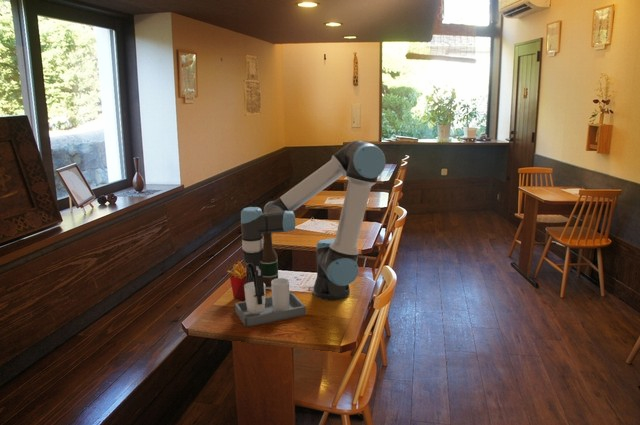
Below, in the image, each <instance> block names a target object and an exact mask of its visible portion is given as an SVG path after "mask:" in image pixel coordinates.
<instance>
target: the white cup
mask: <svg viewBox="0 0 640 425" xmlns="http://www.w3.org/2000/svg"><path fill="white" fill-rule="evenodd" d="M263 284H264V294H265V295H264V296H263V311H264V310H265V297H266V287H265V283H263ZM244 291H245V299H246V300H245V301H246V305H247V311H248V312H249V313H252V314H257V313H261V312H257V313H256V309H255V297H254V295H256V294H255V287H254V282H249V283H246V284H245V285H244ZM263 311H262V312H263Z"/></svg>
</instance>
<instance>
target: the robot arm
mask: <svg viewBox="0 0 640 425" xmlns="http://www.w3.org/2000/svg"><path fill="white" fill-rule="evenodd" d="M386 162H387V160H386V156H385V153H384V151H383V150H382V149H381V148H379V146H378V145H376V144H373V143H372V142H371V143H370V142H367V141H365V140H361V139H359V140H354V141H353V140H352V142H349V143H348V144H346V145H345V146H343V147H342V148H341V149H339V150H338V151H337V152H335V153H334V154H333V155H331V159H330V160H329V161H328V162H326V163H325V164H323V165H322V166H321V167H320V168H318V169H317V170H315V171H314V172H312V173H311V174H310V175H308V176H307V177H305V178H304V179H303V180H302V181H300V182H299V183H298V184H296V185H294V186H293V187H292V188H290V189H289V190H288V191H286V192H284V194H282V195H281V196H280V197H279V198H277V199H275V200H272V201H268V202H267V203H266V204H265V205H264V207H263V211H262V208H261V207H259V206H248V207H244V208H243V209H242V210H241V211H240V226H241V227H240V228H241V244H242V245H241V246H242V247H241V249H242V259H243V262H245V268H246V269H245V273H246V283H249V282H254V287H255V294H256V295H254V297H255V309H256V313H257V312H262V311H263V296H264V295H265V296H266V293H265V294H264V284H263V270H262V269H261V266H260V261H262V260H263V259H264V251H263V246H264V234H263V233H272V234H274V233H276V234H277V233H287V232H292V231H295V230H296V215H295V211H296V210H297V209H299V208H300V207H301V206H303V205H304V204H305V203H307V202H308V201H309V200H311V199H313V198H314V197H315V196H317V195H318V194H320V193H321V192H322V191H324V189H326V188H327V187H329V186H330V185H332V184H333V183H334V182H336V181H338V179H340V178H341V177H343V176H345V177H346V179H347V180H348V182H347V187H346V192H345V196H344V200H343V205H342V208H341V212H340V216H339V221H338V224H337V229H336V234H335V237H334V238H326V239H325V238H324V239H320V240H318V241H317V243H316V273H317V274H316V278H315V282H314V284H313V286H312V287H313V288H312V290H313V291H312V292H313V296H314V297H316V298H317V299H319V300H323V301H324V300H325V301H340V300H344V299H345V298H348V297H349V295H350V293H351V292H350V290H351V289H350V284H352V283H354V282H355V281H356V279H357V278H358V275H359V271H360V270H359V265H358V263H357V262H358V258H359V254H360V250H359V249H358V247H357V246H358V242H359V237H360V235H361V234H360V233H361V230H362V226H363V222H364V217H365V213H366V210H367V205H368V201H369V197H370V193H371V190H372V186H374V185H375V184H377V182H378V178H379V176H380V175H382V173H383V172H384V170H385V167H386V164H387V163H386Z"/></svg>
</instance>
